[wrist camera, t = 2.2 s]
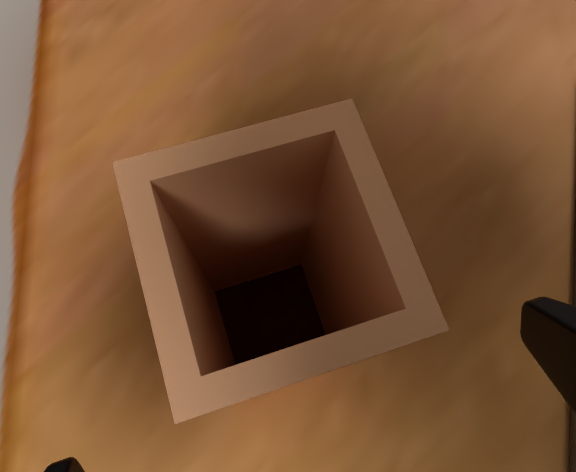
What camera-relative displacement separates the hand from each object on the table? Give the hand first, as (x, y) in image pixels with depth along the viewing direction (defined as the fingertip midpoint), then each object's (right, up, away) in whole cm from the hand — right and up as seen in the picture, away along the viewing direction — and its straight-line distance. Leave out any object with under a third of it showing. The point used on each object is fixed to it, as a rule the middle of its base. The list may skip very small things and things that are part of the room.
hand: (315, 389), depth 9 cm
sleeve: (-1, -1, +10) cm, 10 cm away
